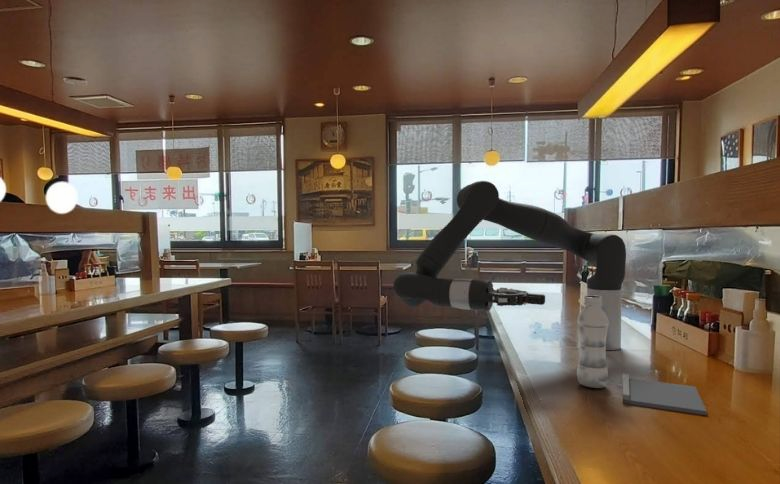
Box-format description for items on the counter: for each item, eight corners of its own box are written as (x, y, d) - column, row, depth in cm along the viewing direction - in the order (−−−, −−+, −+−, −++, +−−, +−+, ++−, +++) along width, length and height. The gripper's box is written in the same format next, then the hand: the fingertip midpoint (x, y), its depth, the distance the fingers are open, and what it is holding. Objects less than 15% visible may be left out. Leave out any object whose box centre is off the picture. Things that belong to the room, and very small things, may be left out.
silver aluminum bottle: (606, 383, 105) (607, 295, 104) (610, 393, 98) (611, 299, 98) (575, 380, 107) (576, 293, 106) (577, 390, 101) (578, 298, 100)
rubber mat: (622, 381, 106) (622, 373, 106) (695, 390, 100) (695, 382, 100) (622, 403, 93) (622, 394, 93) (706, 415, 87) (706, 405, 87)
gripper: (463, 281, 108) (540, 286, 101) (479, 276, 120) (549, 280, 112) (462, 313, 108) (539, 320, 101) (478, 305, 120) (548, 311, 113)
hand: (544, 299), depth 107 cm, fingers closed
